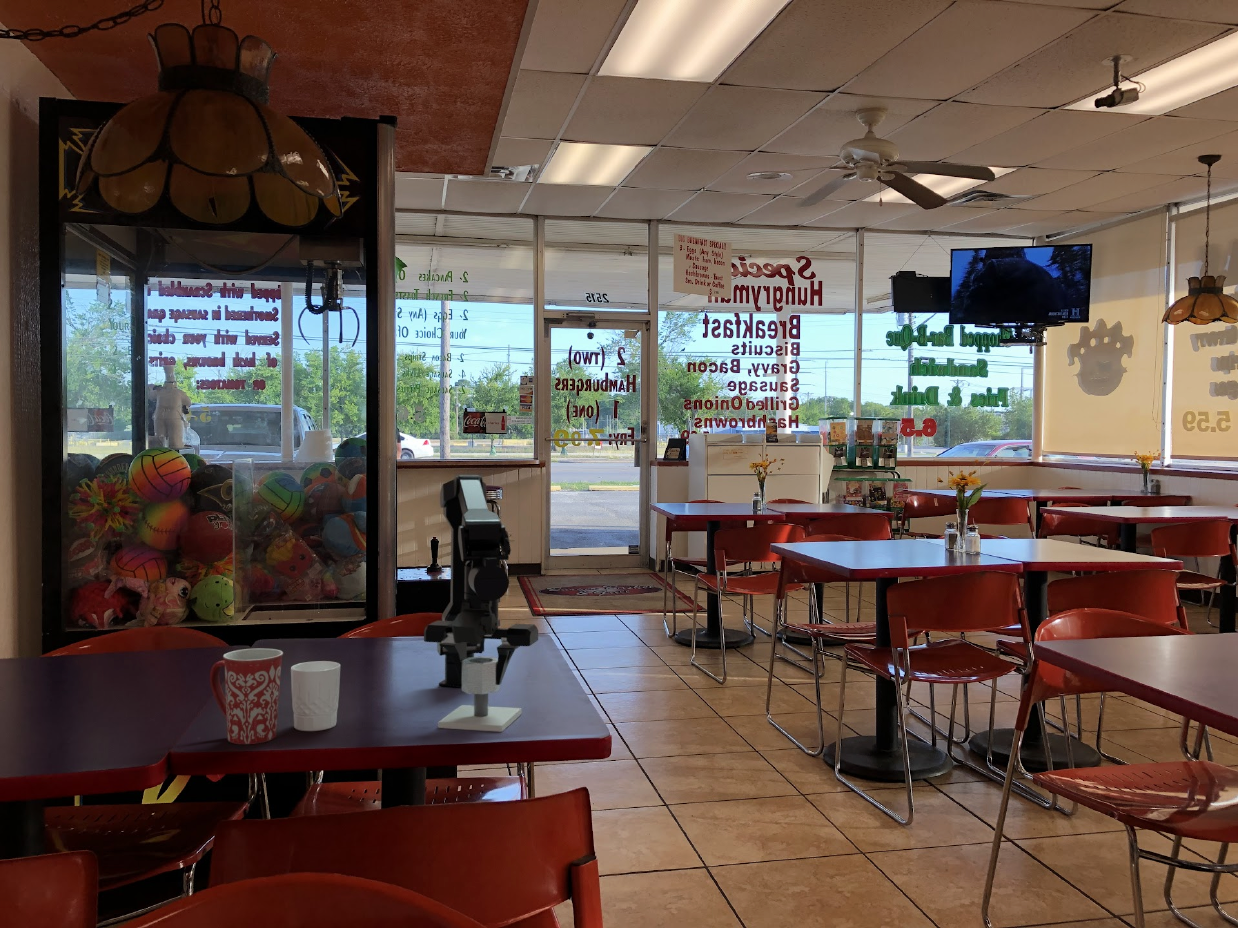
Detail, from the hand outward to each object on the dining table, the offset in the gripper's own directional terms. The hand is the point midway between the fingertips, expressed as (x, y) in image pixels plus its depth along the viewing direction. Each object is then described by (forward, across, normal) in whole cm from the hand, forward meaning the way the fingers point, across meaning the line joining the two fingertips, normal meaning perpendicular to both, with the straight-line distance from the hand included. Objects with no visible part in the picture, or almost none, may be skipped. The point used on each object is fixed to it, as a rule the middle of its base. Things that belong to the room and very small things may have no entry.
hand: (481, 683), depth 161 cm
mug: (+7, -34, -17) cm, 38 cm away
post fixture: (+6, 0, 0) cm, 6 cm away
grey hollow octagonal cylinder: (+1, 0, 0) cm, 1 cm away
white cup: (+7, -26, -9) cm, 28 cm away
